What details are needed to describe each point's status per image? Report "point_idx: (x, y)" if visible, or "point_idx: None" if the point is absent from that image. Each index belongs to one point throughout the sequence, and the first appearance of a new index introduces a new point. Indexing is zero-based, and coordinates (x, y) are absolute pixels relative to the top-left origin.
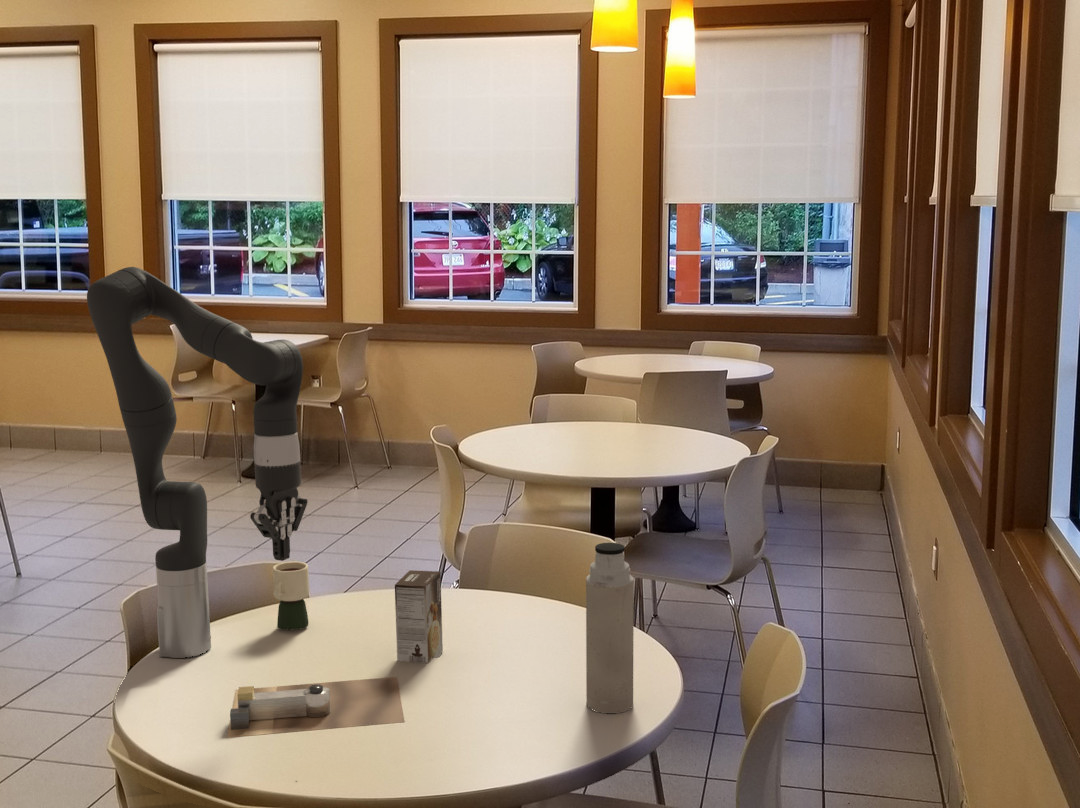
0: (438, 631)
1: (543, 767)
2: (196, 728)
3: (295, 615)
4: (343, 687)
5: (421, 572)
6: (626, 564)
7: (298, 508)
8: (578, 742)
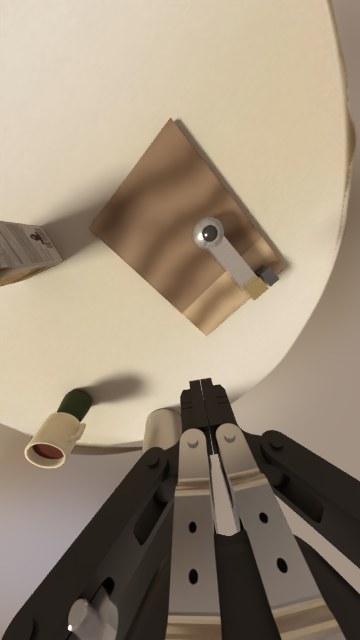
0: None
1: None
2: (266, 311)
3: (76, 402)
4: (145, 258)
5: None
6: None
7: (96, 584)
8: None
